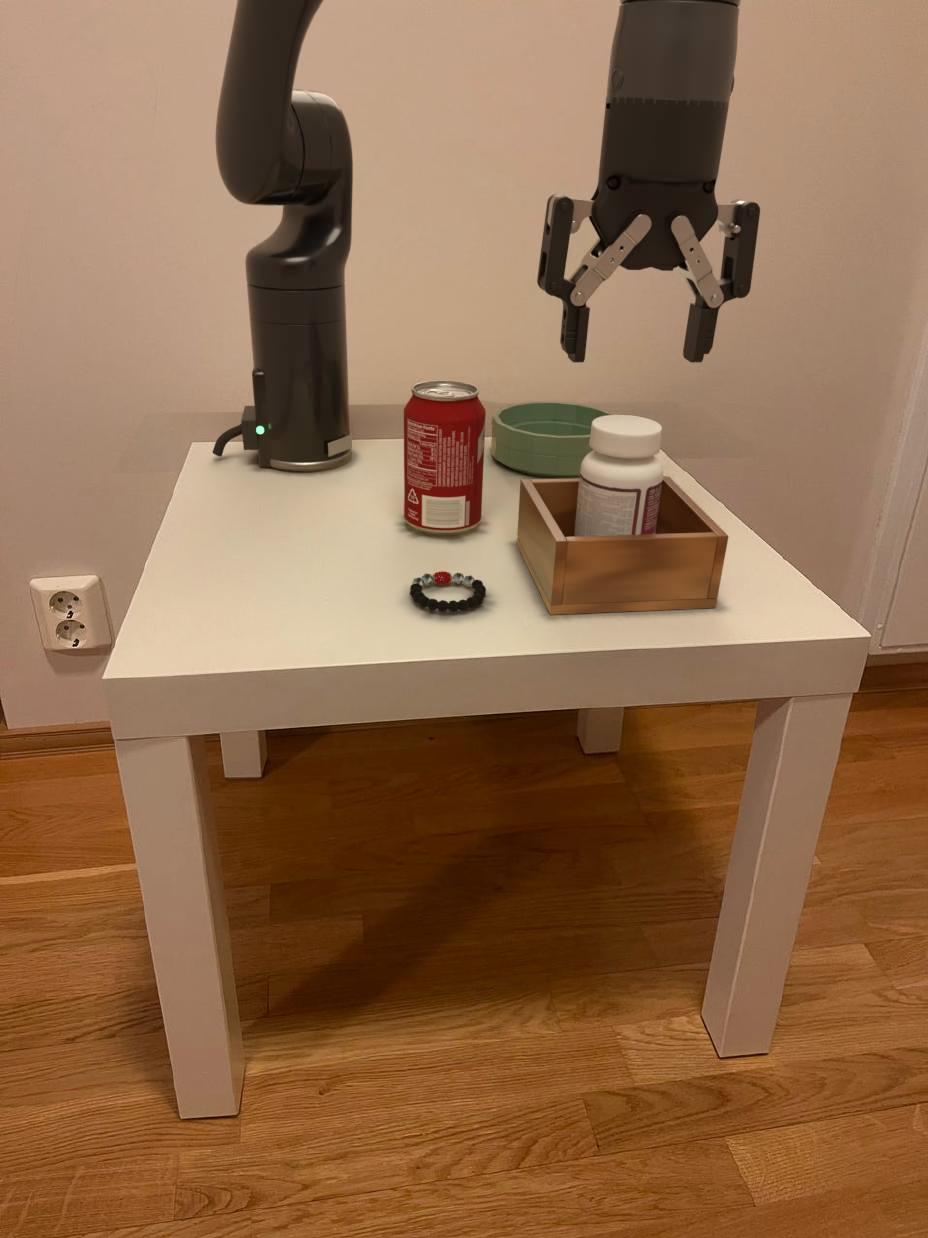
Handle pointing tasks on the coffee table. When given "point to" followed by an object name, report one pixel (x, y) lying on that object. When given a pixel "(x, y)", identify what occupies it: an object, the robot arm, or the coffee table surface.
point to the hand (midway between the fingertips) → (634, 360)
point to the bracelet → (447, 578)
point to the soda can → (443, 457)
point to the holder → (619, 554)
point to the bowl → (544, 437)
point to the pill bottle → (620, 478)
